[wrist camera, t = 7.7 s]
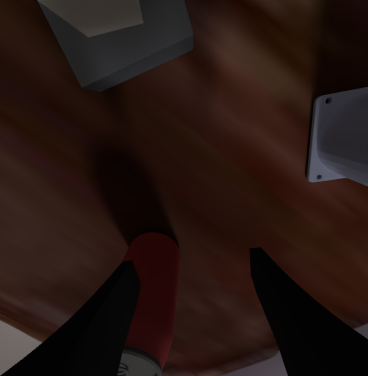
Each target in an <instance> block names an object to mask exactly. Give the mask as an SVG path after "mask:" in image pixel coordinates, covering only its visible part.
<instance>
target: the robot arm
mask: <svg viewBox="0 0 368 376" xmlns="http://www.w3.org/2000/svg"><path fill="white" fill-rule="evenodd" d="M327 98H328V99H329V102H328V103H327V104H326V99H327ZM318 175H319V177H318V178H316V177H317V176H318ZM341 178H349V179H352V180H354V181H356V182H359V183H361V184H363V185H366V186H368V87H365V88H360V89H355V90H349V91H344V92H339V93H333V94H328V95H323V96H319V97H317V98H316V99H315V101H314V107H313V117H312V128H311V138H310V148H309V158H308V169H307V180H308V181H310V182H319V181H326V180H333V179H341ZM250 266H251V276H252V280H253V283H254V286H255V290H256V293H257V295H258V298H259V300H260V303H261V305H262V308H263V310H264V312H265V315H266V317H267V320H268V322H269V325H270V327H271V329H272V332H273V334H274V337H275V339H276V342H277V345H278V347H279V350H280V353H281V356H282V359H283V362H284V365H285V368H286V371H287V374H288V376H368V339H367V338H365V337H364V336H362V335H361V334H360V333H358V332H357V331H355V330H354V329H352V328H351V327H350V326H348V325H347V324H345V323H344V322H343V321H341V320H340V319H339V318H338V317H336V316H335V315H334V314H332V313H331V312H330V311H328V310H327V309H326V308H325V307H323V306H322V305H321V304H320V303H318V302H317V301H316V300H315V299H314V298H312V297H311V296H310V295H309V294H308V293H307V292H305V291H304V290H303V289H302V288H301V287H300V286H299V285H298V284H297V283H295V282H294V281H293V280H292V279H291V278H290V277H289V276H288V275H287V274H286V273H285V272H284V271H283V270H282V269H281V268H280V267H279V266H278V265H277V264H276V263H275V262H274V261H273V260H272V259H271V258H270V257H269V256H268V254H267V253H266V252H265V251H264V250H263V249H262V248H261V247H260V248H250ZM140 287H141V282H140V279H139V276H138V274H137V271H136V268H135V266H134V263H133V260H131V261H123V262H122V263H121V264H120V265H119V267H118V268H117V269H116V270H115V271H114V272H113V273H112V275H111V276H110V277H109V278H108V279H107V280H106V281H105V283H104V284H103V285H102V286H101V287H100V288H99V289H98V290H97V291H96V293H95V294H94V295H93V296H92V297H91V298H90V299H89V300H88V301H87V302H86V303H85V304H84V305H83V306H82V307H81V308H80V309H79V310H78V311H77V312H76V313H75V314H74V315H73V316H72V317H71V318H70V319H69V320H68V321H67V322H66V323H65V324H63V325H62V326H61V327H60V328H59V329H58V330H57V331H56V332H55V333H53V334H52V335H51V336H50V337H49V338H47V339H46V340H45V341H44V342H43V343H41V344H40V345H39V346H38V347H37V348H36V349H34V350H33V351H32V352H31V353H29V354H28V355H27V356H26V357H24V358H23V359H22V360H20V361H19V362H18V363H17V364H15V365H14V366H13V367H11V368H10V369H9V370H8V371H6V372H5V373H3V374H2V375H1V376H117V374H118V370H119V365H120V361H121V357H122V353H123V349H124V345H125V342H126V339H127V335H128V332H129V329H130V326H131V322H132V319H133V316H134V313H135V309H136V306H137V303H138V298H139V293H140Z"/></svg>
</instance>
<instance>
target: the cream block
mask: <svg viewBox="0 0 368 376" xmlns="http://www.w3.org/2000/svg"><path fill="white" fill-rule="evenodd" d="M37 1H39V2H40V3H42V4H43V5H44V6H46V7H47V8H49V9H50V10H51V11H53V12H54V13H55V14H57V15H58V16H60V17H61V18H62V19H64V20H65V21H66V22H68V23H69V24H71V25H72V26H73V27H75V28H76V29H77V30H79V31H80V32H82V33H83V34H84V35H86V36H87V37H91V36H95V35H99V34H103V33H107V32H111V31H115V30H119V29H123V28H127V27H131V26H134V25H138V24H142V23H144V22H143V17H142V12H141V8H140V3H139V0H37Z"/></svg>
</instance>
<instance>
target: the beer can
mask: <svg viewBox="0 0 368 376" xmlns="http://www.w3.org/2000/svg"><path fill="white" fill-rule="evenodd" d="M131 260H133V263H134V266H135V268H136V271H137V274H138V276H139V279H140V282H141V287H140V293H139V298H138V303H137V306H136V309H135V313H134V316H133V319H132V322H131V326H130V329H129V332H128V335H127V339H126V342H125V345H124V349H123V353H122V357H121V361H120V365H119V370H118V374H117V376H162V368H163V366H164V363H165V361H166V359H167V356H168V353H169V350H170V346H171V343H172V339H173V329H174V318H175V307H176V296H177V285H178V274H179V263H180V251H179V248H178V246H177V244H176V243H175V241H173V240H172V239H171V238H170V237H168V236H166V235H164V234H162V233H157V232H147V233H144V234H141V235H139V236H137V237H136V238H135V239H134V240H133V241H132V243H131V245H130V246H129V249H128V251H127V253H126V255H125V257H124V259H123V261H131ZM123 261H122V262H123Z"/></svg>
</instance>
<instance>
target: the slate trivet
mask: <svg viewBox="0 0 368 376" xmlns="http://www.w3.org/2000/svg"><path fill="white" fill-rule="evenodd" d="M38 3H39V5H40V7H41V9H42V11H43V13H44V15H45V17H46V19H47V21H48V23H49V24H50V26H51V28H52V30H53V32H54V34H55V36H56V38H57V40H58V42H59V44H60V46H61V48H62V50H63V52H64V54H65V56H66V58H67V60H68V62H69V64H70V66H71V68H72V70H73V72H74V73H75V75H76V77H77V79H78V81H79V83H80V85H81V87H82V88H85V89H90V90H94V91H98V92H102V91H104V90H106V89H109V88H111V87H113V86H115V85H117V84H119V83H122V82H124V81H126V80H128V79H130V78H133V77H135V76H137V75H139V74H141V73H143V72H146V71H148V70H150V69H152V68H154V67H156V66H159V65H161V64H163V63H165V62H167V61H170V60H172V59H174V58H176V57H178V56H180V55H183V54H185V53H187V52H189V51H191V50H194V34H193V30H192V26H191V23H190V19H189V15H188V12H187V8H186V4H185V1H184V0H139V3H140V8H141V12H142V17H143V22H144V23H142V24H138V25H134V26H131V27H127V28H123V29H119V30H115V31H111V32H107V33H103V34H99V35H95V36H91V37H87V36H86V35H84V34H83V33H82V32H80V31H79V30H77V29H76V28H75V27H73V26H72V25H71V24H69V23H68V22H66V21H65V20H64V19H62V18H61V17H60V16H58V15H57V14H55V13H54V12H53V11H51V10H50V9H49V8H47V7H46V6H44V5H43V4H42V3H40V2H39V1H38Z"/></svg>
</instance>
